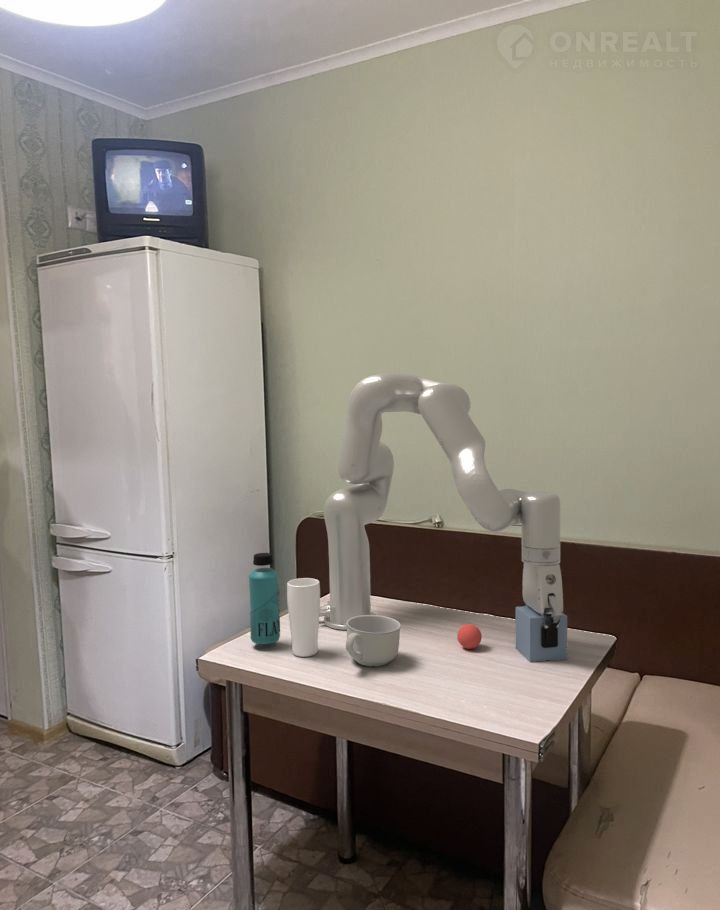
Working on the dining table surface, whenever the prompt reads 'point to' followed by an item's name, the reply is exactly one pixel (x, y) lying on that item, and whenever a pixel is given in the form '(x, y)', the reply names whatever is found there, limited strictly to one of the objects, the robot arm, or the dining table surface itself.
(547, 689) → the dining table surface
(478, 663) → the dining table surface
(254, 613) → the beverage bottle
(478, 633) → the ball
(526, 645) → the pale blue cube
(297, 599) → the drinking glass
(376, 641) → the teacup
